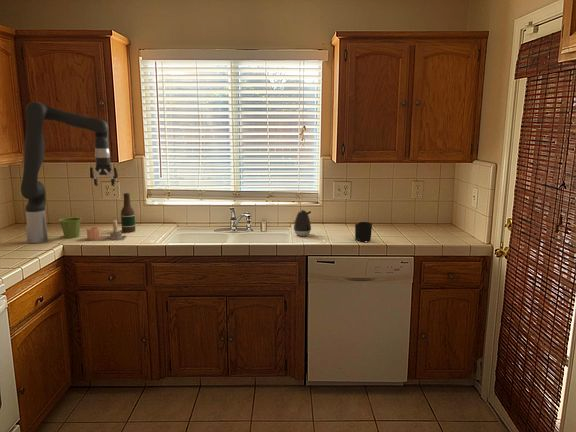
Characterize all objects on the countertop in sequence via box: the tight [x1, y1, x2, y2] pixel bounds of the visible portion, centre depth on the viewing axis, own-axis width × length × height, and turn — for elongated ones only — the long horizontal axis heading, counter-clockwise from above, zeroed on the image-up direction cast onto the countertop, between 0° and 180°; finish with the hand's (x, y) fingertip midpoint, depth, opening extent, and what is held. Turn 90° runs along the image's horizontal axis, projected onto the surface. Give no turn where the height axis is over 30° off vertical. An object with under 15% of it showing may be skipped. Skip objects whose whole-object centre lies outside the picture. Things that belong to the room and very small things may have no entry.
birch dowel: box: [112, 219, 119, 234], centre depth 256 cm, size 2×2×10 cm
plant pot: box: [58, 216, 83, 239], centre depth 259 cm, size 12×12×11 cm
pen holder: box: [354, 221, 373, 243], centre depth 260 cm, size 9×9×10 cm
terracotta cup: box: [86, 226, 101, 240], centre depth 255 cm, size 6×6×6 cm
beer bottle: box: [120, 192, 136, 234], centre depth 272 cm, size 8×8×24 cm
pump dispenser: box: [293, 209, 312, 237], centre depth 271 cm, size 10×10×15 cm
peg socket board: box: [83, 231, 128, 242], centre depth 256 cm, size 21×11×4 cm, turn 98°
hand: (104, 185), depth 256 cm, fingers open, 8 cm apart
